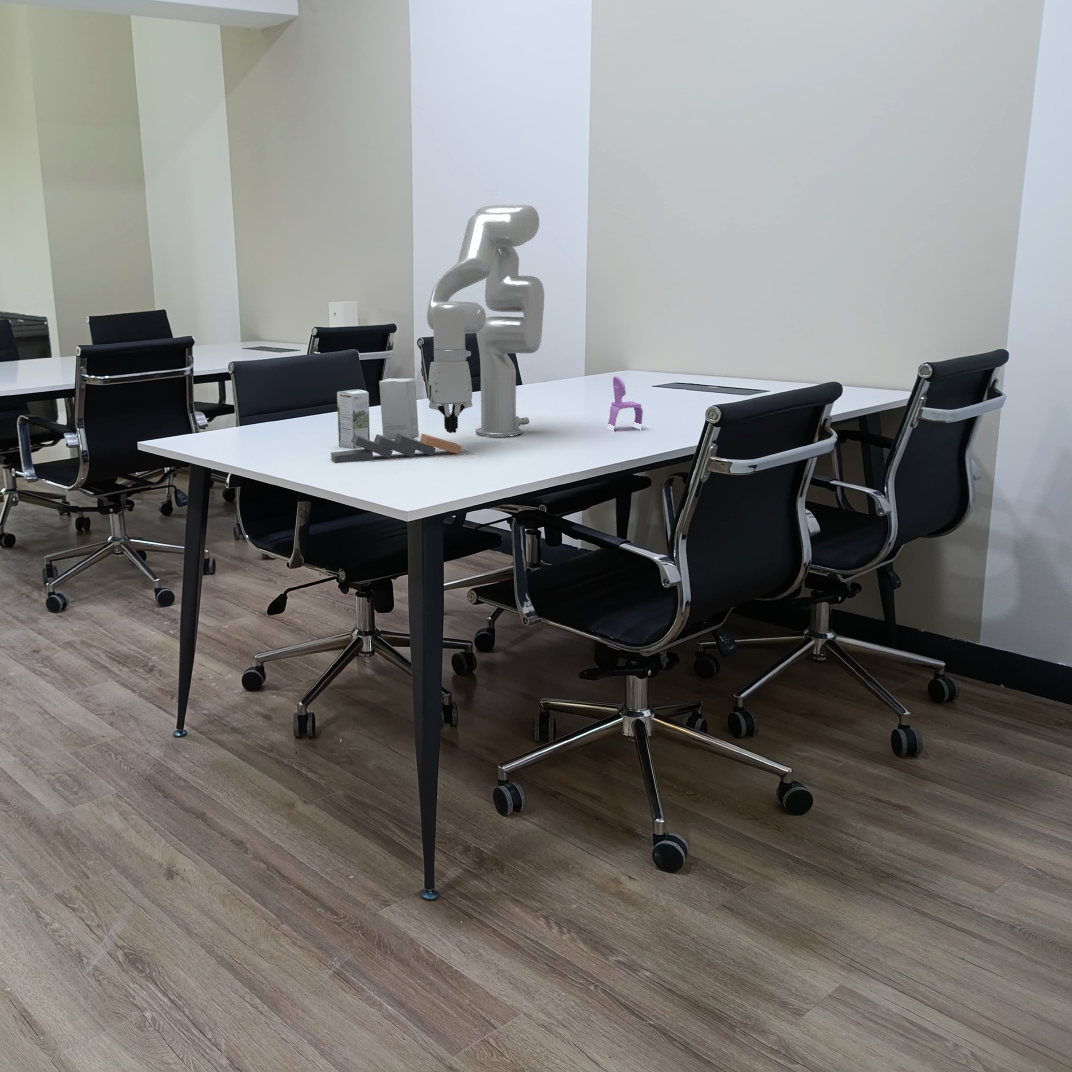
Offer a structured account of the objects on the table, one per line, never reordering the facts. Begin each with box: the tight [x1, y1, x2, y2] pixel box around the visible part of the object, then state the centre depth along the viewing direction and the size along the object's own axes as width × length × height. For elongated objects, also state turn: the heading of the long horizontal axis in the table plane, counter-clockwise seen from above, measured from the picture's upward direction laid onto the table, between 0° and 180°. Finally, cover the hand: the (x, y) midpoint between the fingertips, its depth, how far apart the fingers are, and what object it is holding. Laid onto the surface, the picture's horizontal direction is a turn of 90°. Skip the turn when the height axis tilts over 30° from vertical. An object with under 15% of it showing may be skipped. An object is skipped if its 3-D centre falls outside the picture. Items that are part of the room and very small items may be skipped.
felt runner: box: [369, 448, 475, 463], centre depth 255 cm, size 26×8×1 cm, turn 111°
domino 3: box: [373, 433, 417, 457], centre depth 252 cm, size 2×5×9 cm
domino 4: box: [393, 433, 437, 456], centre depth 254 cm, size 2×5×9 cm
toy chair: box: [607, 376, 644, 427], centre depth 294 cm, size 8×9×15 cm
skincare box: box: [378, 377, 419, 439], centre depth 281 cm, size 8×7×16 cm
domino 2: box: [351, 434, 394, 458], centre depth 250 cm, size 2×5×9 cm
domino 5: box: [419, 433, 463, 454], centre depth 256 cm, size 2×5×9 cm
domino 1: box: [330, 448, 374, 464], centre depth 249 cm, size 2×5×9 cm
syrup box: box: [336, 389, 371, 450], centre depth 266 cm, size 6×6×14 cm
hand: (451, 431), depth 257 cm, fingers closed
